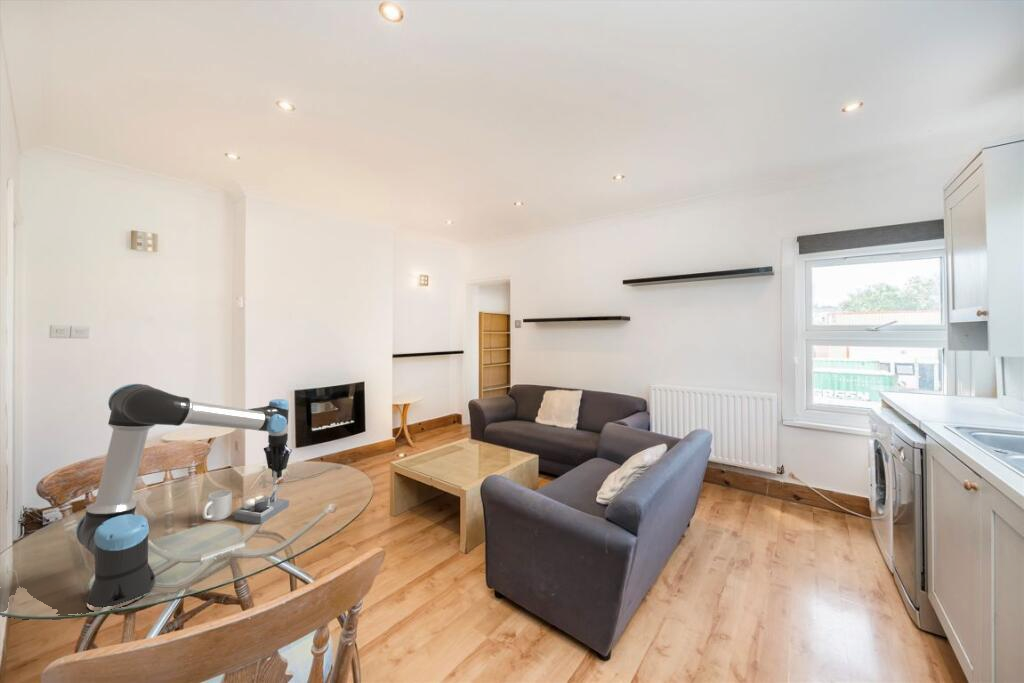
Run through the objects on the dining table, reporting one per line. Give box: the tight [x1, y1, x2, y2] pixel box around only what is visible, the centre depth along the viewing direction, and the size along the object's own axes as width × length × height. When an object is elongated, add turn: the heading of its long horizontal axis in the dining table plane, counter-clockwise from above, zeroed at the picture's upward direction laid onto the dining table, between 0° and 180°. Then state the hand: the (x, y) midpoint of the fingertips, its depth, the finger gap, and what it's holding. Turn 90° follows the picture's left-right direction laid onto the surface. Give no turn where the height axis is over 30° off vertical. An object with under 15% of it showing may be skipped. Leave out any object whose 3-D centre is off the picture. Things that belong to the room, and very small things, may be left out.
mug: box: [201, 489, 233, 522], centre depth 163 cm, size 12×8×10 cm
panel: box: [234, 494, 290, 525], centre depth 170 cm, size 16×13×6 cm
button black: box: [255, 502, 267, 513], centre depth 165 cm, size 4×4×3 cm
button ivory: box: [242, 497, 256, 509], centre depth 166 cm, size 4×4×3 cm
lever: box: [269, 478, 285, 502], centre depth 173 cm, size 2×1×13 cm
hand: (276, 484), depth 173 cm, fingers closed
